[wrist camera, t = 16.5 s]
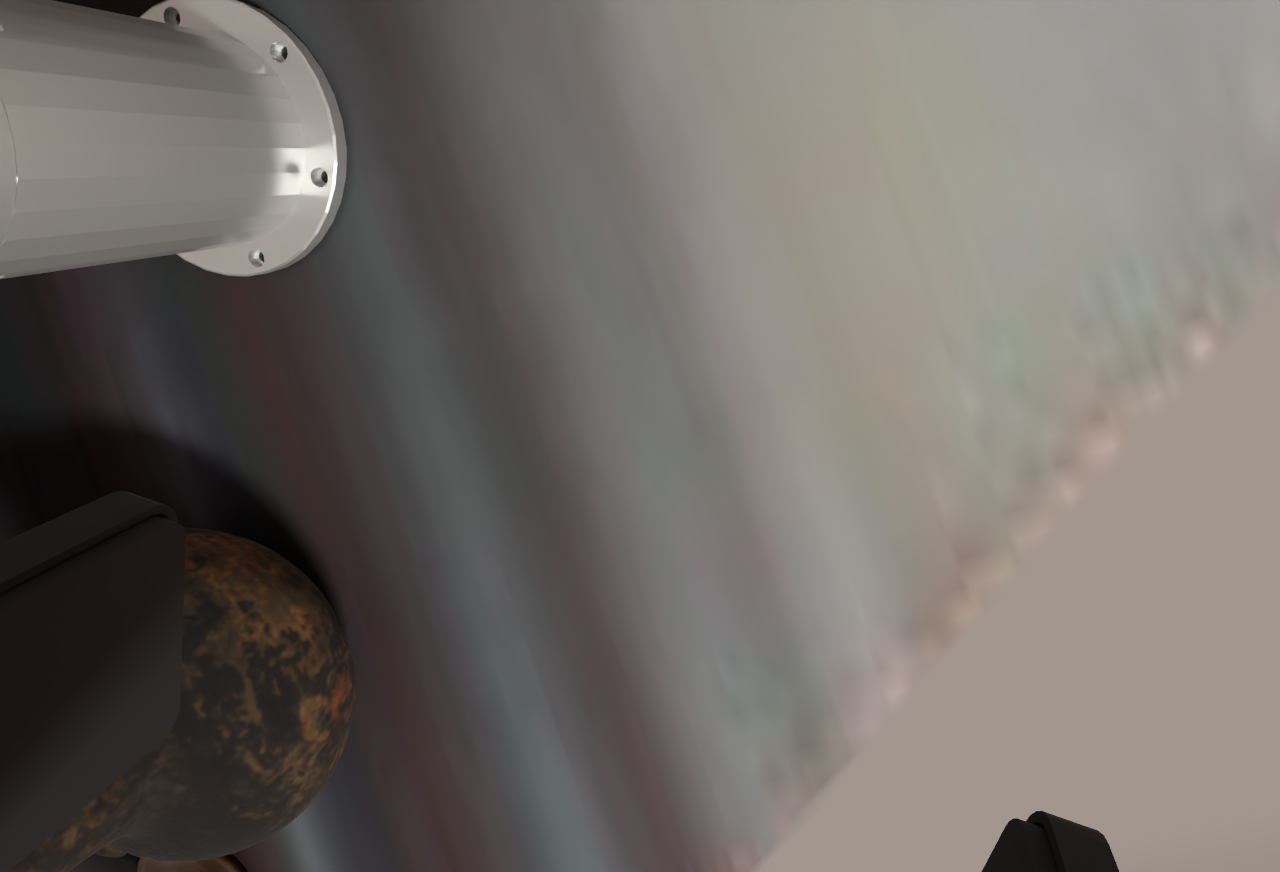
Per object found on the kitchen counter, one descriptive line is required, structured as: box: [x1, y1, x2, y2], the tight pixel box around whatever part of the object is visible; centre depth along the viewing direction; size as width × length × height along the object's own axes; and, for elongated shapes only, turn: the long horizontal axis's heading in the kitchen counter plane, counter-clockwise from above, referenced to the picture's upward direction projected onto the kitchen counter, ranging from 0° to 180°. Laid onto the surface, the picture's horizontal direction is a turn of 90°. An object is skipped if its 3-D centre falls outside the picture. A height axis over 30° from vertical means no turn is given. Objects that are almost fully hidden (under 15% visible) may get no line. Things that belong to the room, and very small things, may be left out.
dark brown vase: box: [9, 527, 355, 872], centre depth 36 cm, size 18×18×28 cm
